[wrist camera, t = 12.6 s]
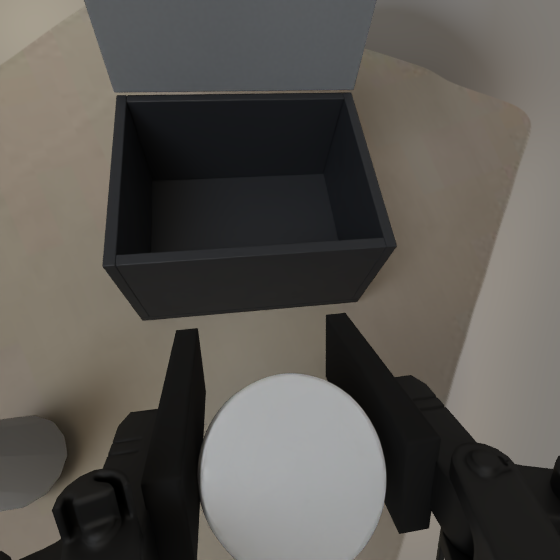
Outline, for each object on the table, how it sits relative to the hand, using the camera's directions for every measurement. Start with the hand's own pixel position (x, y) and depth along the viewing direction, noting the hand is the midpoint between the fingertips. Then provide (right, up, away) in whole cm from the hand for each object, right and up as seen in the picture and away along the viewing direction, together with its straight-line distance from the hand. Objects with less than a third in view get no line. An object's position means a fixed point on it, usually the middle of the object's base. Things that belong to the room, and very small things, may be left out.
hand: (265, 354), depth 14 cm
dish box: (-3, +7, +23) cm, 24 cm away
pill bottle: (0, -5, +2) cm, 5 cm away
